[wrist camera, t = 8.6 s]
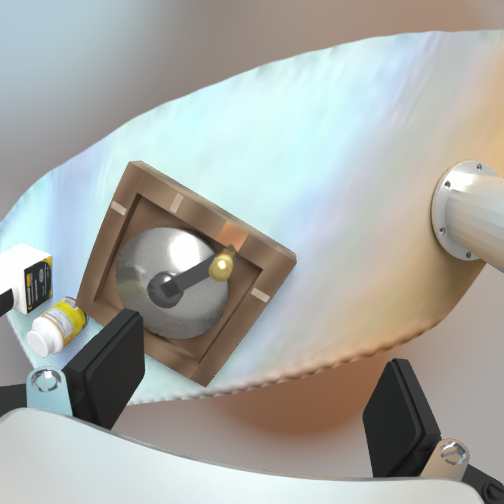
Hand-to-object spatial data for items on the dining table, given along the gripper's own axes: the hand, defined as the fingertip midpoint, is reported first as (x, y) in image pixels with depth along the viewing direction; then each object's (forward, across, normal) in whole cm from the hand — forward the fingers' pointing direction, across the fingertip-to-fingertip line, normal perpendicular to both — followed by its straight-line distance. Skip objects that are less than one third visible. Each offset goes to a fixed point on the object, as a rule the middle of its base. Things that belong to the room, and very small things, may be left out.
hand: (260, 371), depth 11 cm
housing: (+25, +12, +9) cm, 29 cm away
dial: (+24, +11, +8) cm, 27 cm away
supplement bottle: (+25, +28, +18) cm, 41 cm away
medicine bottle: (+25, +35, +13) cm, 45 cm away
